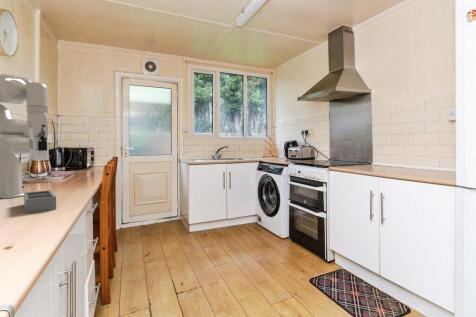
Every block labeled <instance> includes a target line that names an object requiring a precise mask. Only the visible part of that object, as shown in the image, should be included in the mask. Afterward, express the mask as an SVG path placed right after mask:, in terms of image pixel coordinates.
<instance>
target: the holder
mask: <svg viewBox="0 0 476 317" xmlns="http://www.w3.org/2000/svg"><path fill="white" fill-rule="evenodd" d="M23 207H24V210H25V214H29V213H37V212H44V211H45V212H46V211H52V210H57V196H56V195H55V193H54V192H53V191H52V190H39V191H27V192H26V193H24V196H23Z"/></svg>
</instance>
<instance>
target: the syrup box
mask: <svg viewBox="0 0 476 317" xmlns="http://www.w3.org/2000/svg"><path fill="white" fill-rule="evenodd" d="M48 136H49V135H48ZM48 136H47V150H40V151H39V150H38V141H39V139H38V134H37V135H34V130H33V128H32V129H30V135H29V143H30V154H29V157H30V161H49V160H50V157H49V156H50V154H49V140H48V138H49V137H48ZM39 142H40V141H39Z"/></svg>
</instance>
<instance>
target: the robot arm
mask: <svg viewBox="0 0 476 317" xmlns="http://www.w3.org/2000/svg"><path fill="white" fill-rule="evenodd" d="M25 102H26V103H25ZM4 103H5V104H12V105H22V104H23V103H25V104H26V114H27V117H26V120H25V119H15V118H13V117H12V113H11V112H10V110H9V109H8V108H7V107H6V106H5V105H3V104H4ZM48 103H49V102H48V87H47V85H46V84H44V83H41V82H36V81H31V79H29V78H26V77H23V76H20V75H19V76H18V75H17V76H16V75H14V74H7V73H3V74H0V199H12V198H19V197H24V193H26V192H25V191H23V176H22V174H23V172H22V162H21V160H20V158H18V157H17V156H16V155H30V143H29V135H30V129H32V128H33V130H34V135H37V134H38V139H39V141H40V142H39V141H38V150H39V151H40V150H47V136H49V120H48V115H49V111H48V110H49V109H48V108H49V106H48Z"/></svg>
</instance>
